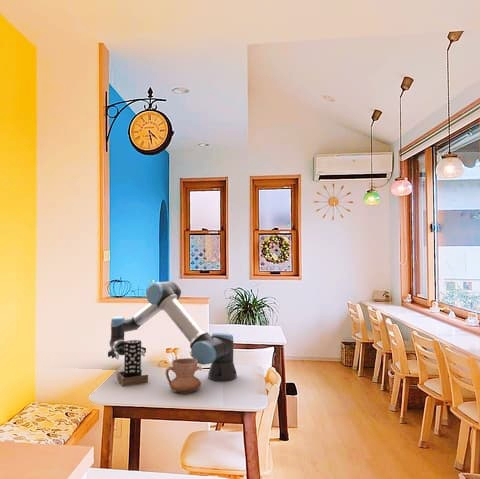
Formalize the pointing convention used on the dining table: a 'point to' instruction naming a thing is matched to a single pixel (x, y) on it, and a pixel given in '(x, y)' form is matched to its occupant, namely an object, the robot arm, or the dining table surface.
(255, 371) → the dining table surface
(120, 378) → the tray
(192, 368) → the ceramic jug
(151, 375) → the dining table surface
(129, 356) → the white-spotted black cylinder
